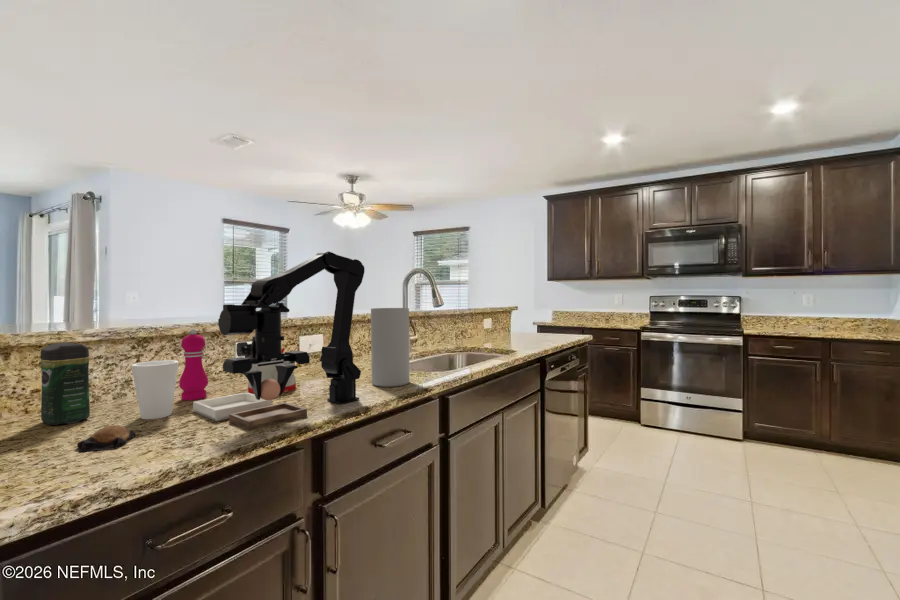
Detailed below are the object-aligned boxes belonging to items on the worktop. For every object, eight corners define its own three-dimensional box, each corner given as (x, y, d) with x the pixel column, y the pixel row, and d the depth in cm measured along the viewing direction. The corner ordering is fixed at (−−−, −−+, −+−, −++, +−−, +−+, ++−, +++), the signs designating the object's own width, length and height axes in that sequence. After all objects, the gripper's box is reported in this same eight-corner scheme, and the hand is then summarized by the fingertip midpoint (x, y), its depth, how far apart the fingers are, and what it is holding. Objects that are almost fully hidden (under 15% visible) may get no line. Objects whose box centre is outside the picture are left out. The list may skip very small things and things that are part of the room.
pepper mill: (173, 399, 122) (172, 329, 122) (196, 394, 128) (196, 327, 128) (191, 401, 119) (190, 330, 119) (214, 396, 126) (213, 328, 125)
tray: (285, 409, 110) (285, 402, 110) (307, 416, 104) (306, 408, 104) (229, 421, 99) (229, 414, 99) (249, 430, 93) (249, 422, 93)
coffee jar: (95, 419, 103) (94, 342, 102) (52, 428, 96) (51, 345, 96) (78, 414, 107) (77, 340, 107) (36, 422, 101) (34, 343, 100)
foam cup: (155, 422, 100) (154, 366, 100) (122, 420, 102) (121, 365, 102) (187, 411, 109) (187, 360, 109) (157, 409, 111) (156, 359, 111)
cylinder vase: (383, 378, 150) (382, 307, 150) (415, 381, 146) (414, 307, 146) (364, 386, 138) (363, 309, 138) (399, 388, 134) (398, 309, 134)
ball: (273, 396, 105) (273, 376, 105) (284, 399, 102) (284, 378, 102) (253, 400, 101) (253, 379, 101) (264, 403, 98) (263, 382, 98)
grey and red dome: (240, 390, 134) (239, 342, 134) (282, 383, 144) (281, 338, 144) (261, 396, 125) (260, 345, 125) (304, 388, 135) (303, 341, 135)
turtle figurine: (91, 440, 89) (91, 423, 89) (140, 435, 93) (139, 418, 92) (69, 457, 79) (68, 438, 79) (124, 450, 83) (123, 431, 83)
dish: (247, 401, 119) (246, 392, 119) (271, 409, 111) (271, 399, 111) (193, 411, 109) (193, 401, 109) (215, 421, 100) (215, 410, 100)
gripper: (287, 328, 114) (287, 386, 114) (212, 333, 99) (213, 400, 100) (310, 329, 107) (311, 392, 107) (233, 335, 92) (234, 407, 93)
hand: (269, 397), depth 102 cm, fingers closed on ball, 5 cm apart
